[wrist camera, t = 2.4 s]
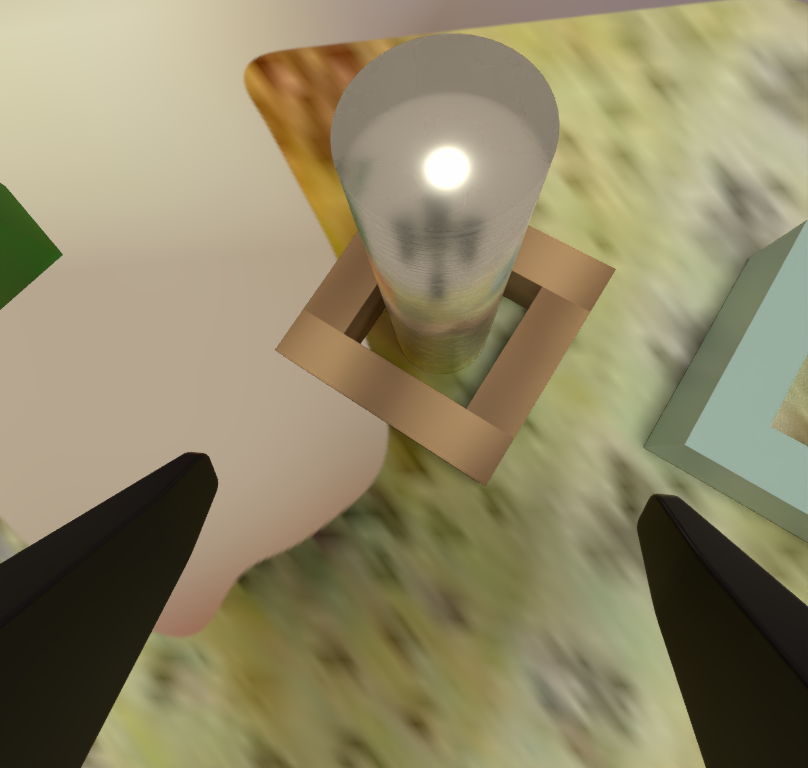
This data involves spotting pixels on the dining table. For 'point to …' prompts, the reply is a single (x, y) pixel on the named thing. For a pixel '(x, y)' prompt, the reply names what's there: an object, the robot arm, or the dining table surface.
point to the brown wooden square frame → (417, 402)
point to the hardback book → (20, 248)
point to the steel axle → (444, 183)
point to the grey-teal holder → (748, 391)
